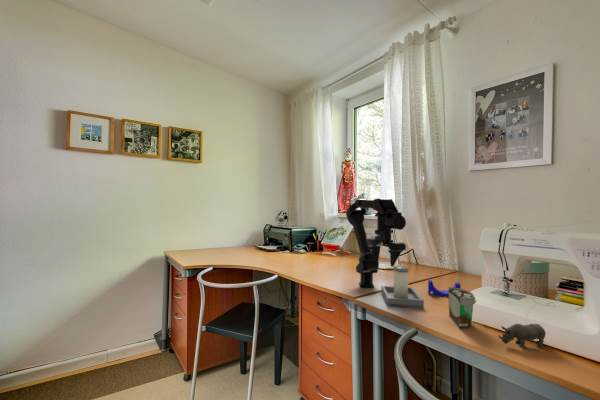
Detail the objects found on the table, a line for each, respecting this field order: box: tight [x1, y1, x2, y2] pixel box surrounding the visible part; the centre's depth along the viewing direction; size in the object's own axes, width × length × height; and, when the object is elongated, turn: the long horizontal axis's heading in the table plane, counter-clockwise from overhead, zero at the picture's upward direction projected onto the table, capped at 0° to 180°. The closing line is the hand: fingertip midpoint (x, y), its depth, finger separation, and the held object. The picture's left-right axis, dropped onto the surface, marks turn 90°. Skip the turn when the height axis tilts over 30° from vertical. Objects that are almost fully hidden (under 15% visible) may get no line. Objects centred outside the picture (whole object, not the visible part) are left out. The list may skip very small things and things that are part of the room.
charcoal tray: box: [380, 285, 425, 309], centre depth 113 cm, size 16×13×3 cm
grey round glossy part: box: [393, 265, 410, 299], centre depth 113 cm, size 6×6×12 cm
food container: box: [447, 286, 477, 330], centre depth 92 cm, size 12×6×10 cm, turn 168°
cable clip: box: [427, 279, 462, 298], centre depth 120 cm, size 12×4×6 cm, turn 69°
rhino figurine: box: [497, 323, 546, 349], centre depth 78 cm, size 4×14×6 cm, turn 93°
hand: (384, 264), depth 119 cm, fingers open, 9 cm apart
